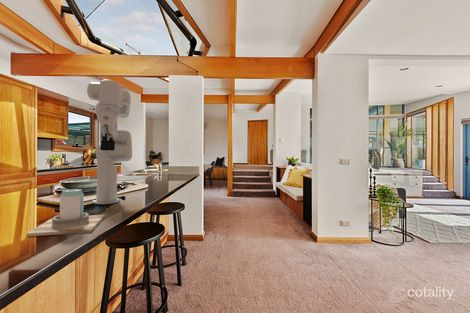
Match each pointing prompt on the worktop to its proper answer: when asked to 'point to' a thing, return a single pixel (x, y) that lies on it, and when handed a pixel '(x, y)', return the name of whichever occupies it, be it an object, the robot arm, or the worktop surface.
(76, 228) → the base
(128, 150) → the robot arm
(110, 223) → the worktop surface
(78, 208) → the can
